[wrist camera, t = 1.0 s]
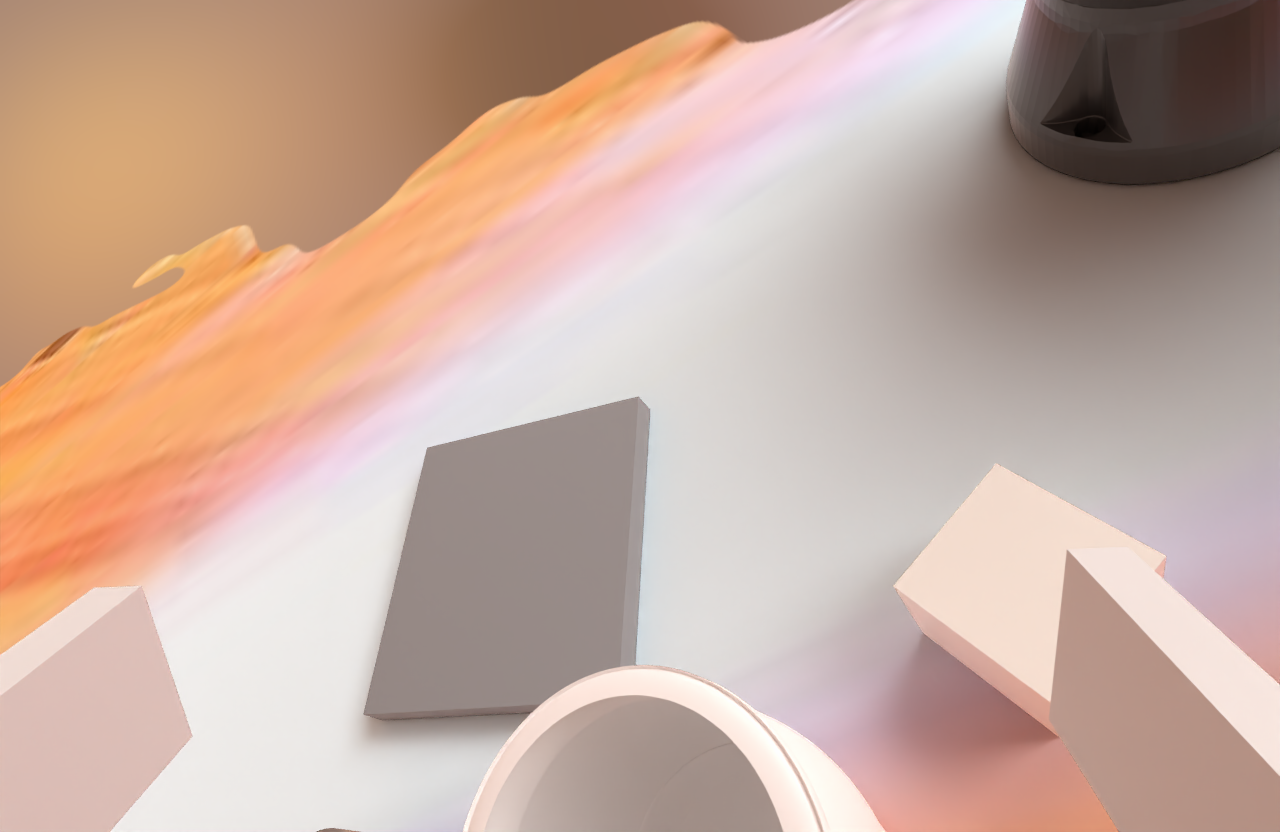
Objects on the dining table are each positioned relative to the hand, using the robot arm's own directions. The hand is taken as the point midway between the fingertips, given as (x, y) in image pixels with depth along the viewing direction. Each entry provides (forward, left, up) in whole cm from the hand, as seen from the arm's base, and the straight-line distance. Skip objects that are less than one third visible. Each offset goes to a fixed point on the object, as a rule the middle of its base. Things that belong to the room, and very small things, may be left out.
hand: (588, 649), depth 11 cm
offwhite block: (-6, -7, -24) cm, 26 cm away
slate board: (+20, -13, -24) cm, 34 cm away
